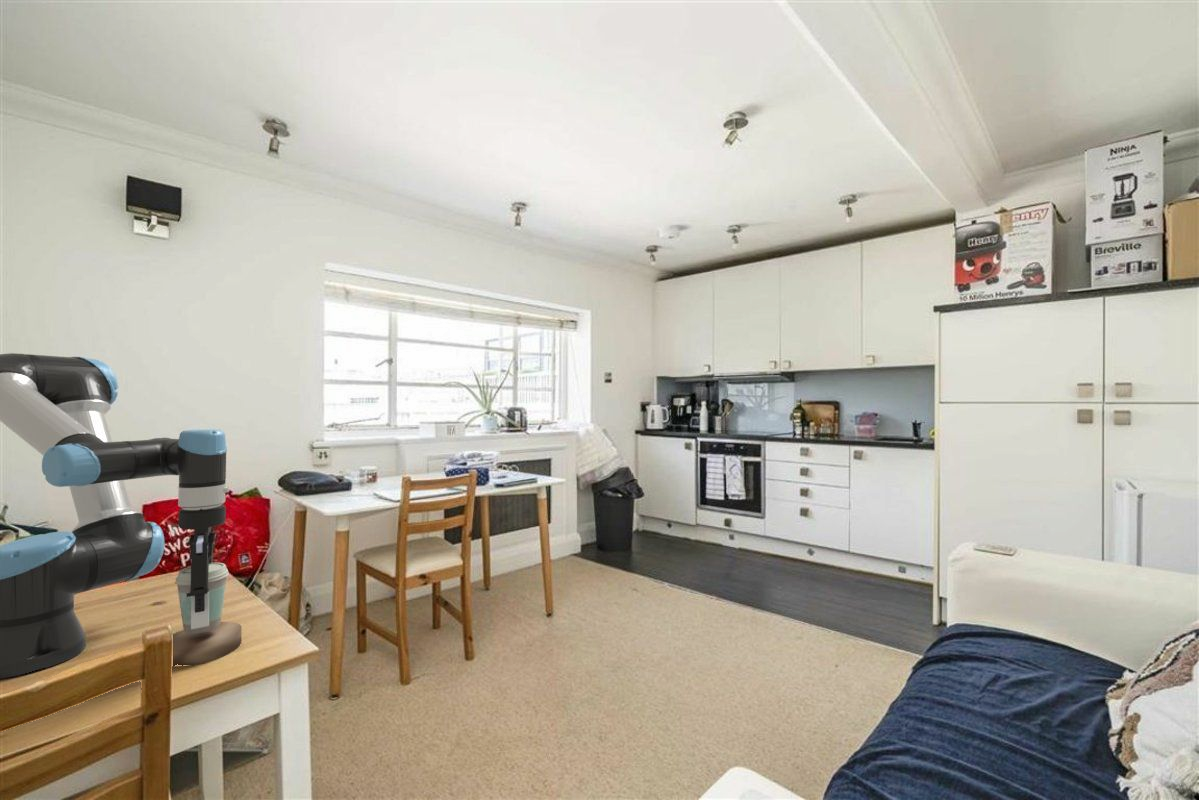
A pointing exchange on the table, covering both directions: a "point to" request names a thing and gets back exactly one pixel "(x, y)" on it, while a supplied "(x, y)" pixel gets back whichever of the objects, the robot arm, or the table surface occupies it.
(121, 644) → the table surface
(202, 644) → the walnut stand
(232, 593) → the table surface
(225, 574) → the coffee cup
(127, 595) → the table surface
